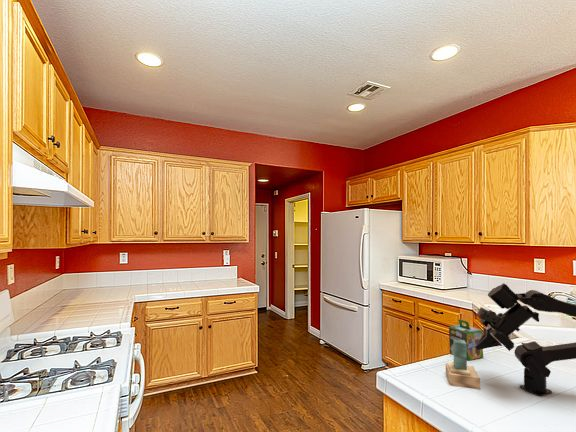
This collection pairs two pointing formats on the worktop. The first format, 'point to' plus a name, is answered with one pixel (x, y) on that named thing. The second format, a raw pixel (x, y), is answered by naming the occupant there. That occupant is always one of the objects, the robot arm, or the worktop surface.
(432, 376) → the worktop surface
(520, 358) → the robot arm
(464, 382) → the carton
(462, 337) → the chalk box
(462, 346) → the tall teal pillar
